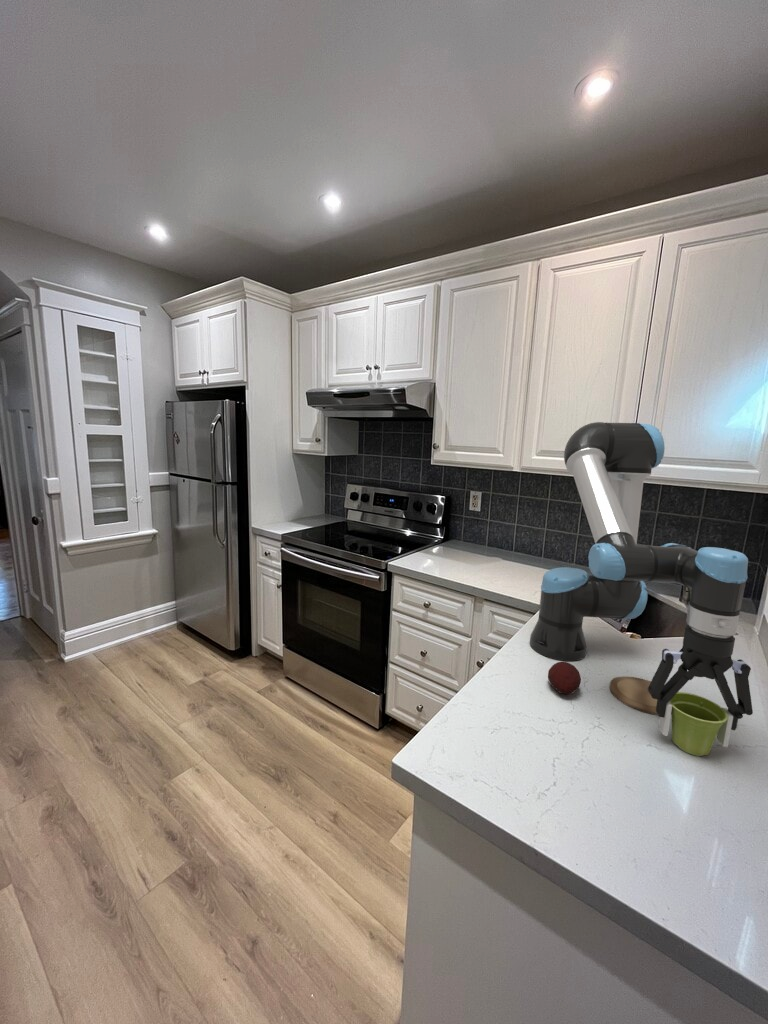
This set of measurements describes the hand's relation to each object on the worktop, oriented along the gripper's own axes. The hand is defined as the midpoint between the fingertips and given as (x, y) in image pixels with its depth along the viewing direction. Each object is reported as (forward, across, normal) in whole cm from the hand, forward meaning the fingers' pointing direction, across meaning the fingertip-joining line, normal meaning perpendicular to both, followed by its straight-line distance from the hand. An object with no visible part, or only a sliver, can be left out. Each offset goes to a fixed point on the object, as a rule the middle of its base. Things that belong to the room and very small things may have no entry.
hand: (691, 736), depth 83 cm
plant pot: (+2, 0, 0) cm, 2 cm away
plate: (+2, -4, +16) cm, 17 cm away
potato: (+2, -22, +13) cm, 26 cm away
